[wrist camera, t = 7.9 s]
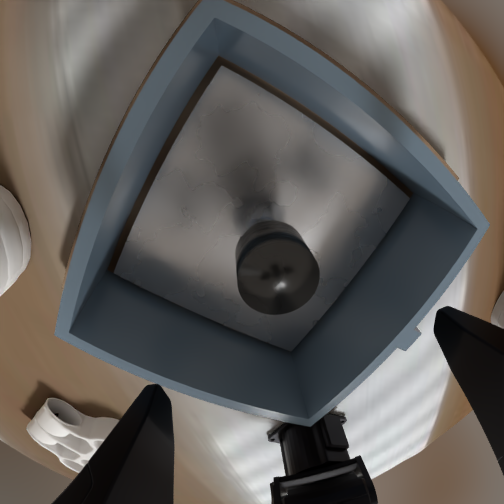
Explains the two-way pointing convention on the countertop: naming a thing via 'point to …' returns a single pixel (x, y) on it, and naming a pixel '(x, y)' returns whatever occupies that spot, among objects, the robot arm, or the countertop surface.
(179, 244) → the lid with knob
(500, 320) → the cup
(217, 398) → the blue grey open box
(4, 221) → the bottle
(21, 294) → the countertop surface
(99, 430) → the white muffin tray
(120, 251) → the serving board
